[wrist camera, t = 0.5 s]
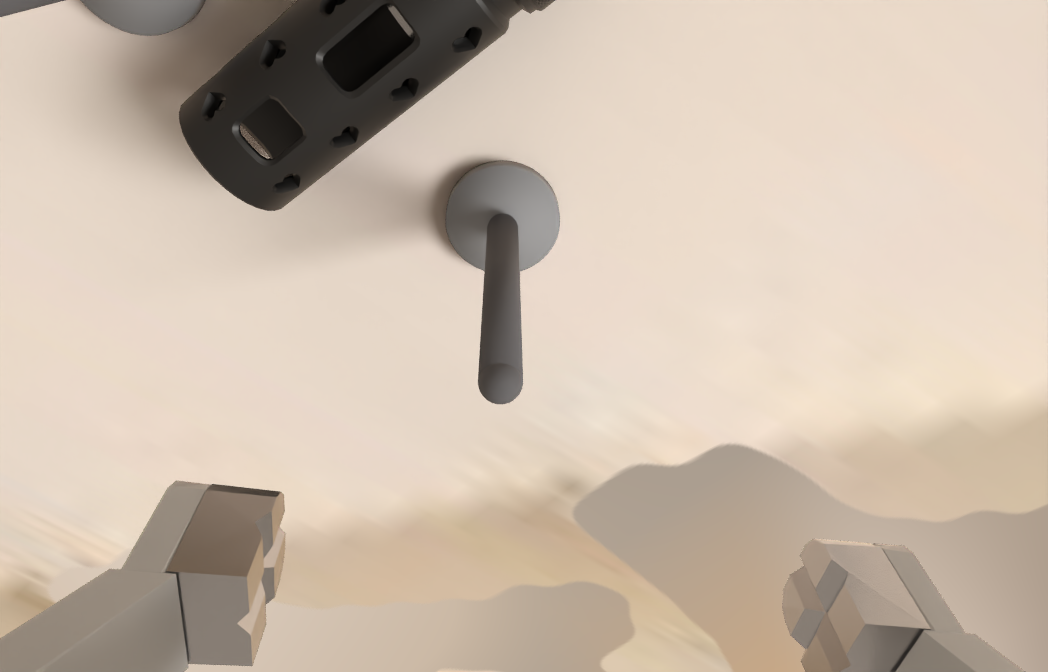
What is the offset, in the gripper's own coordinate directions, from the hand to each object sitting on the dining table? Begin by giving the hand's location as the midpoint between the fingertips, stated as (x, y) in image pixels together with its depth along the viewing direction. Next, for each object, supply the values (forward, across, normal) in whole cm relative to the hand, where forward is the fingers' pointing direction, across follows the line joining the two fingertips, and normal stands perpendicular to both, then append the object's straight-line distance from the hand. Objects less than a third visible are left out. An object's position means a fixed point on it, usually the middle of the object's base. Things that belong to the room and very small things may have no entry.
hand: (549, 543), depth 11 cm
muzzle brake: (+46, +8, -1) cm, 47 cm away
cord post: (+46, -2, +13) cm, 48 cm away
